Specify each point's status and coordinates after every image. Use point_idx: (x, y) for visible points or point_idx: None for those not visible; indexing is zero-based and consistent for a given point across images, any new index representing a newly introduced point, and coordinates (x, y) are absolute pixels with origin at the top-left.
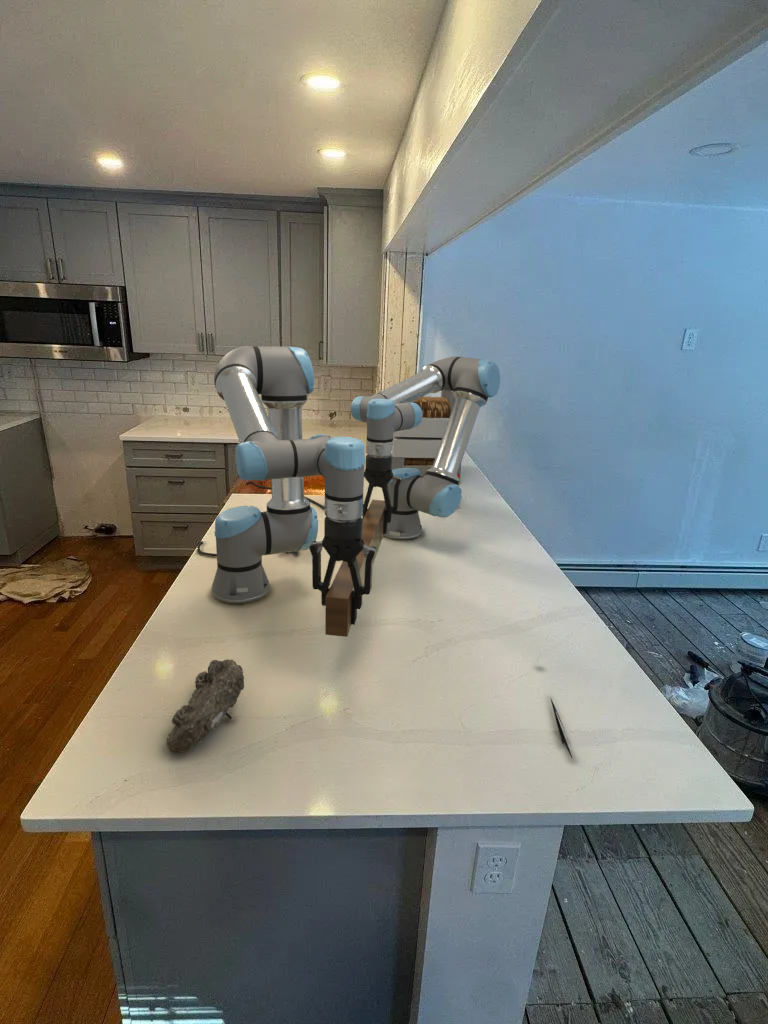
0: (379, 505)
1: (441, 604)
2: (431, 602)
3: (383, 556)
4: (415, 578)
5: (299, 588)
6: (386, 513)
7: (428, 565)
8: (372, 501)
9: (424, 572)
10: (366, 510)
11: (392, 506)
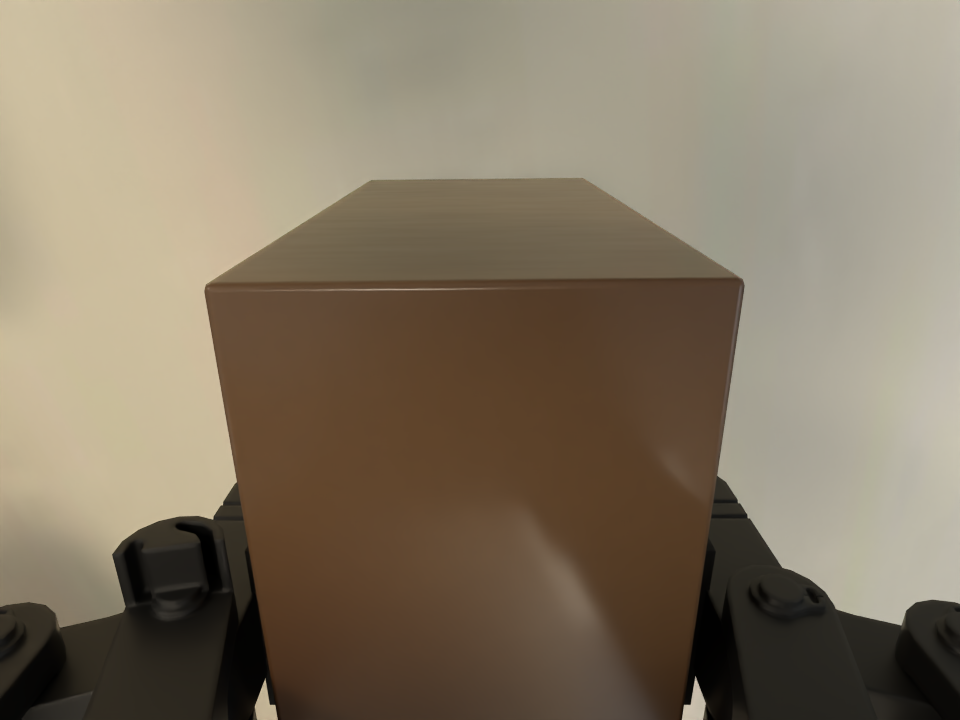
0: (532, 711)
1: (888, 615)
2: (837, 607)
3: (514, 10)
4: (773, 360)
5: (112, 608)
6: (684, 702)
7: (902, 114)
8: (268, 478)
9: (850, 253)
10: (261, 675)
11: (880, 717)
